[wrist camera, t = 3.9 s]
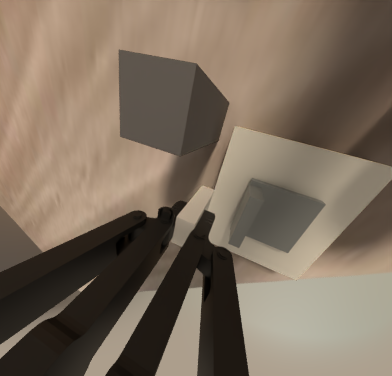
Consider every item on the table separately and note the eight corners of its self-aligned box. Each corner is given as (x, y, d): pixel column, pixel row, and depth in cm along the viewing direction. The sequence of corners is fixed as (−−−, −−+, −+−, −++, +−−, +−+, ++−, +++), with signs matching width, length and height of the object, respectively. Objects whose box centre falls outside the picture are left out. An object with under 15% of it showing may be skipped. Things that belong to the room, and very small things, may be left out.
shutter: (251, 177, 16) (252, 191, 12) (322, 200, 14) (344, 223, 11) (230, 225, 19) (226, 246, 15) (286, 248, 17) (295, 276, 14)
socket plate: (237, 126, 18) (235, 126, 15) (370, 160, 15) (401, 169, 12) (205, 223, 25) (198, 237, 22) (289, 259, 22) (296, 280, 19)
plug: (195, 94, 18) (118, 49, 7) (229, 102, 17) (196, 63, 7) (188, 131, 20) (120, 136, 9) (218, 140, 19) (180, 156, 9)
